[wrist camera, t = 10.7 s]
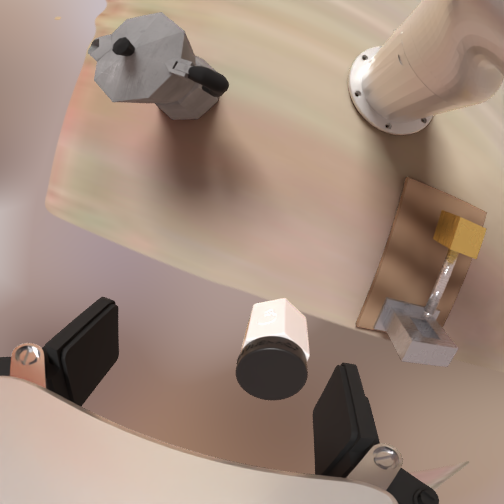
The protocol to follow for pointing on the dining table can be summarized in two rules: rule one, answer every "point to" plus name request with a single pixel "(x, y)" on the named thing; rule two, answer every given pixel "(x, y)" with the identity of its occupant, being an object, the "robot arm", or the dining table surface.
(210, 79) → the coffeepot
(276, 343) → the jar
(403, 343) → the brushed steel socket base
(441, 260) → the copper board
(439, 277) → the yellow block headed rod
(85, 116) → the dining table surface
